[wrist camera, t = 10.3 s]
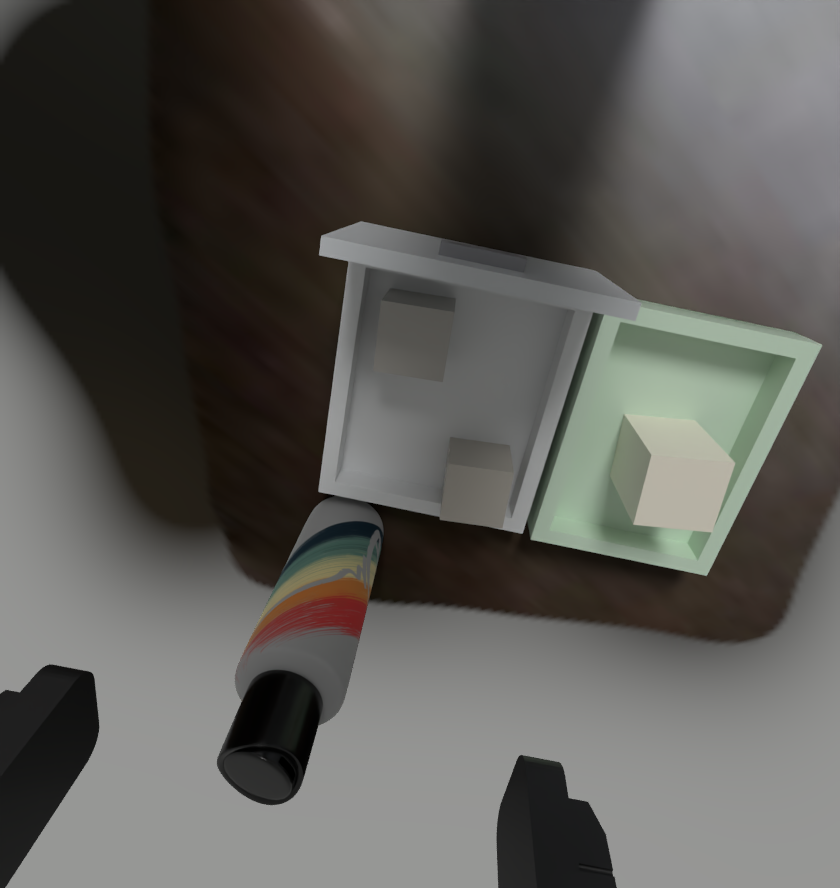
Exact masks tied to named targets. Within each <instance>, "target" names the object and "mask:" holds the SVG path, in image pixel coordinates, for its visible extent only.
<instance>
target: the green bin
mask: <svg viewBox="0 0 840 888" xmlns="http://www.w3.org/2000/svg"><path fill="white" fill-rule="evenodd" d="M637 300H638V299H637ZM638 301H640V302H641V303H642V304H641V307H640V309H639V312H638V315H637V318H636V321H632V320H627V319H623V318H618V317H613V316H608V315H603V314H599V313H594V312H593V314H592V317H591V321H590V324H589V327H588V330H587V333H586V336H585V339H584V343H583V346H582V349H581V352H580V355H579V358H578V361H577V365H576V368H575V371H574V374H573V377H572V380H571V383H570V386H569V390H568V393H567V396H566V399H565V402H564V405H563V408H562V412H561V415H560V418H559V421H558V424H557V427H556V430H555V434H554V437H553V440H552V443H551V446H550V449H549V452H548V456H547V459H546V462H545V465H544V468H543V471H542V474H541V478H540V481H539V484H538V487H537V490H536V493H535V496H534V499H533V503H532V506H531V509H530V512H529V515H528V518H527V522H528V528H529V533H530V539H531V540H535V541H540V542H545V543H550V544H555V545H560V546H565V547H569V548H574V549H579V550H584V551H589V552H594V553H599V554H603V555H608V556H613V557H618V558H623V559H628V560H633V561H637V562H642V563H647V564H652V565H657V566H662V567H667V568H672V569H676V570H681V571H686V572H691V573H696V574H701V575H706V576H707V574H708V572H709V570H710V568H711V566H712V564H713V562H714V560H715V558H716V556H717V554H718V552H719V550H720V548H721V546H722V544H723V542H724V540H725V538H726V536H727V534H728V532H729V530H730V528H731V526H732V524H733V522H734V520H735V518H736V516H737V514H738V512H739V510H740V508H741V506H742V504H743V502H744V500H745V498H746V496H747V494H748V492H749V490H750V488H751V486H752V484H753V482H754V480H755V478H756V476H757V474H758V472H759V471H760V469H761V467H762V465H763V463H764V461H765V459H766V457H767V455H768V453H769V451H770V449H771V447H772V445H773V443H774V441H775V439H776V437H777V435H778V433H779V431H780V429H781V427H782V425H783V423H784V421H785V419H786V417H787V415H788V413H789V411H790V409H791V407H792V405H793V403H794V401H795V399H796V397H797V395H798V393H799V391H800V389H801V387H802V385H803V383H804V381H805V379H806V377H807V375H808V373H809V371H810V369H811V367H812V365H813V363H814V361H815V359H816V357H817V355H818V353H819V351H820V349H821V347H822V345H821V344H819V343H817V342H815V341H813V340H810V339H808V338H806V337H804V336H802V335H800V334H797V333H795V332H791V331H787V330H782V329H777V328H772V327H768V326H763V325H758V324H753V323H748V322H744V321H739V320H734V319H729V318H725V317H720V316H715V315H710V314H705V313H701V312H696V311H691V310H686V309H682V308H677V307H672V306H667V305H662V304H658V303H653V302H648V301H643V300H638ZM624 414H630V415H641V416H652V417H663V418H674V419H685V420H695V421H696V422H697V423H698V424H699V425H700V426H701V427H702V428H703V429H704V430H705V431H706V432H707V433H708V434H709V436H710V437H711V438H712V439H713V440H714V441H715V442H716V443H717V444H718V445H719V446H720V447H721V448H722V449H723V450H724V451H725V452H726V453H727V454H728V456H729V457H730V458H731V459H732V460H733V461H734V462H735V466H734V469H733V472H732V475H731V478H730V481H729V484H728V487H727V490H726V493H725V496H724V499H723V502H722V505H721V508H720V511H719V514H718V517H717V520H716V523H715V526H714V529H713V532H702V531H691V530H681V529H671V528H661V527H651V526H641V525H633V523H632V521H631V519H630V517H629V515H628V513H627V511H626V509H625V506H624V504H623V502H622V500H621V498H620V496H619V494H618V492H617V490H616V488H615V486H614V483H613V481H612V479H611V477H610V473H611V468H612V464H613V460H614V455H615V451H616V447H617V442H618V438H619V434H620V430H621V425H622V421H623V417H624Z"/></svg>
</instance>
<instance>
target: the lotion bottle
mask: <svg viewBox="0 0 840 888" xmlns="http://www.w3.org/2000/svg"><path fill="white" fill-rule="evenodd" d="M383 534H384V529H383V524H382V520H381V518H380V516H379V514H378V513H377V512H376V510H375V509H374V508H373V507H372V506H371V505H369V504H368V503H366V502H365V501H361V500H356V499H351V498H346V497H341V496H334V497H330V498H328V499H325V500H324V501H322V502H321V503H319V504H318V505H317V506H316V507H315V508H314V510H313V511H312V513H311V514H310V516H309V518H308V520H307V522H306V524H305V526H304V528H303V530H302V532H301V534H300V536H299V538H298V540H297V542H296V544H295V546H294V548H293V551H292V553H291V555H290V557H289V559H288V561H287V563H286V565H285V567H284V569H283V571H282V573H281V575H280V578H279V580H278V582H277V584H276V586H275V588H274V590H273V592H272V594H271V596H270V598H269V600H268V603H267V605H266V607H265V609H264V611H263V613H262V615H261V617H260V619H259V621H258V623H257V625H256V628H255V630H254V632H253V634H252V636H251V638H250V640H249V642H248V644H247V646H246V649H245V651H244V653H243V655H242V657H241V659H240V662H239V664H238V667H237V670H236V674H235V685H236V690H237V693H238V695H239V697H240V699H241V701H242V702H241V705H240V707H239V709H238V712H237V714H236V716H235V719H234V721H233V723H232V725H231V728H230V730H229V733H228V735H227V737H226V740H225V742H224V744H223V746H222V749H221V751H220V753H219V756H218V759H217V766H218V769H219V771H220V772H221V774H222V775H223V777H224V778H225V779H226V780H227V781H228V783H229V784H231V786H233V787H234V788H235V789H236V790H237V791H238V792H240V793H241V794H243V795H244V796H246V797H247V798H249V799H251V800H253V801H256V802H258V803H261V804H266V805H277V804H282V803H284V802H287V801H288V800H290V799H291V798H293V797H294V795H295V794H296V793H297V792H298V790H299V789H300V787H301V784H302V781H303V778H304V775H305V771H306V768H307V764H308V761H309V757H310V753H311V750H312V746H313V743H314V739H315V735H316V732H317V728H318V725H321V724H323V723H325V722H327V721H328V720H330V719H331V718H332V717H334V716H335V715H336V713H338V711H339V710H340V708H341V706H342V704H343V701H344V698H345V695H346V691H347V687H348V684H349V680H350V676H351V672H352V668H353V663H354V659H355V655H356V651H357V647H358V643H359V638H360V634H361V630H362V626H363V622H364V618H365V613H366V610H367V605H368V601H369V597H370V593H371V589H372V585H373V581H374V576H375V572H376V568H377V564H378V560H379V556H380V551H381V547H382V542H383Z"/></svg>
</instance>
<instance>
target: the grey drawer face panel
mask: <svg viewBox="0 0 840 888" xmlns="http://www.w3.org/2000/svg"><path fill="white" fill-rule="evenodd" d="M319 255H321V256H326V257H331V258H335V259H340V260H345V261H350V262H355V263H359V264H364V265H369V266H374V267H378V268H383V269H388V270H393V271H398V272H402V273H407V274H412V275H417V276H422V277H426V278H431V279H436V280H441V281H445V282H450V283H455V284H460V285H465V286H469V287H474V288H479V289H484V290H489V291H493V292H498V293H503V294H508V295H513V296H517V297H522V298H527V299H532V300H536V301H541V302H546V303H551V304H556V305H560V306H565V307H570V308H575V309H580V310H584V311H589V312H594V313H599V314H603V315H608V316H613V317H618V318H623V319H627V320H632V321H636V318H637V315H638V312H639V309H640V307H641V304H642V303H641V302H640V301H638V300H637V299H636V298H634V297H633V296H631V295H630V294H628V293H627V292H625V291H624V290H623V289H621V288H620V287H618V286H617V285H615V284H614V283H613V282H611V281H610V280H608V279H607V278H605V277H604V276H603V275H601V274H600V273H598V272H597V271H595V270H591V269H586V268H581V267H576V266H572V265H567V264H562V263H557V262H552V261H548V260H543V259H538V258H533V257H529V256H524V255H519V254H514V253H510V252H505V251H500V250H495V249H490V248H486V247H481V246H476V245H471V244H467V243H462V242H457V241H452V240H447V239H443V238H438V237H433V236H428V235H424V234H419V233H414V232H409V231H404V230H400V229H395V228H390V227H385V226H381V225H376V224H371V223H366V222H362V221H361V222H359V223H356V224H353V225H350V226H347V227H345V228H342V229H339V230H336V231H333V232H331V233H328V234H325V235H322V236H321V243H320V252H319Z"/></svg>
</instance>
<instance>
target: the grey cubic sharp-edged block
mask: <svg viewBox="0 0 840 888" xmlns="http://www.w3.org/2000/svg"><path fill="white" fill-rule="evenodd" d="M455 304H456V298H450V297H444V296H437V295H431V294H425V293H419V292H413V291H406V290H400V289H394V288H390V289H389V291H388V292H387V293H386V295H385V296H384V297H383V299H382V300H381V306H380V315H379V324H378V332H377V341H376V350H375V359H374V368H373V371H377V372H383V373H389V374H395V375H401V376H407V377H414V378H420V379H426V380H432V381H438V382H443V378H444V372H445V366H446V360H447V354H448V348H449V342H450V336H451V330H452V324H453V318H454V312H455Z"/></svg>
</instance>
